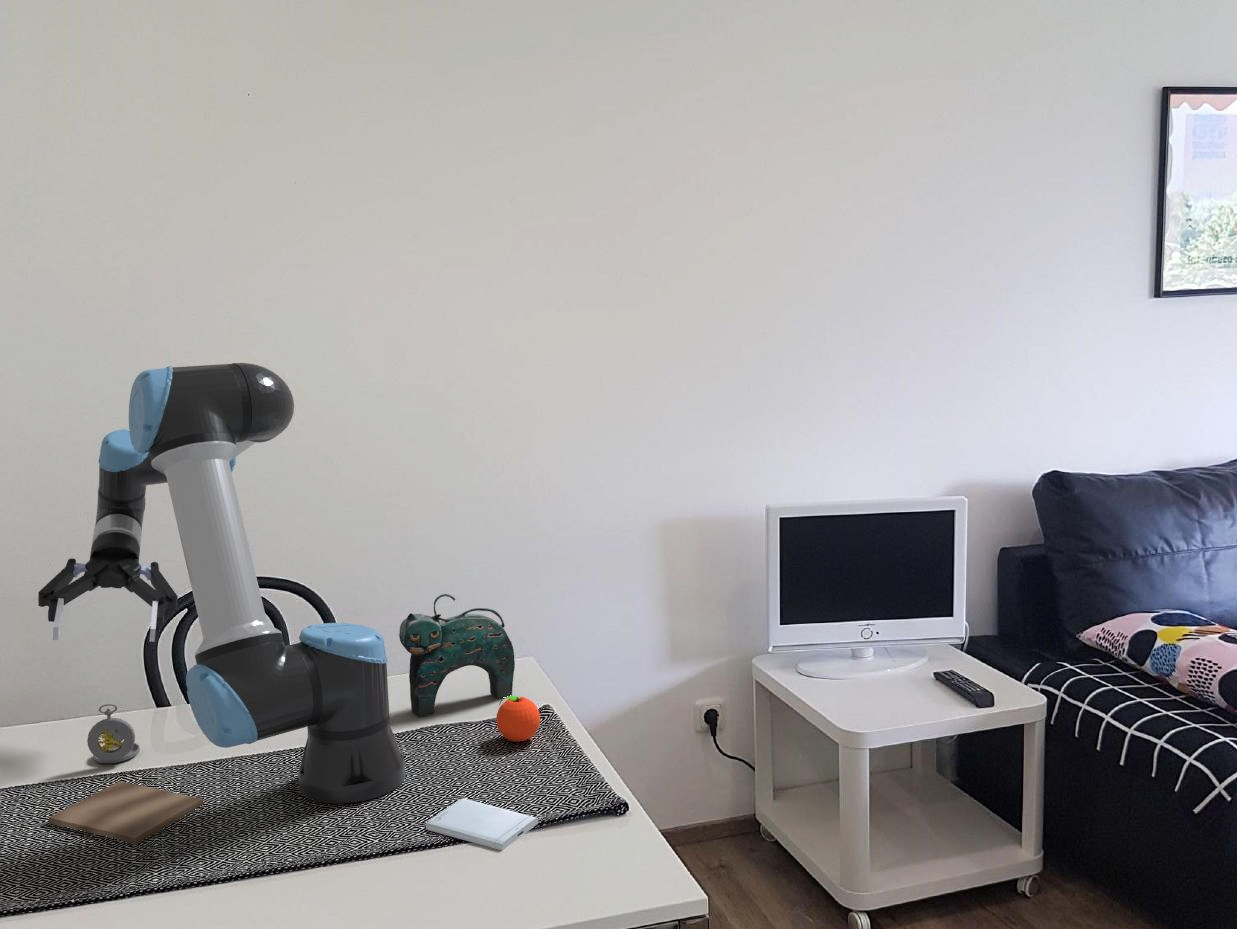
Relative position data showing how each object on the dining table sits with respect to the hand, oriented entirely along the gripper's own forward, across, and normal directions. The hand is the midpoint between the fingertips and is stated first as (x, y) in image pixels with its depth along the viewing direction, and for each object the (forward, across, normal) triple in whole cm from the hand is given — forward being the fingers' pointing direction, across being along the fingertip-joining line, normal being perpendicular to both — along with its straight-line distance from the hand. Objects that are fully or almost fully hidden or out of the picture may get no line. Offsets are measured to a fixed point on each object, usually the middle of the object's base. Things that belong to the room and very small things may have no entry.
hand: (104, 634), depth 172 cm
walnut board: (+29, -6, -6) cm, 31 cm away
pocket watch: (+11, -3, -16) cm, 20 cm away
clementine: (+23, -61, +1) cm, 66 cm away
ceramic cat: (+7, -57, -8) cm, 58 cm away
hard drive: (+48, -49, +11) cm, 69 cm away
